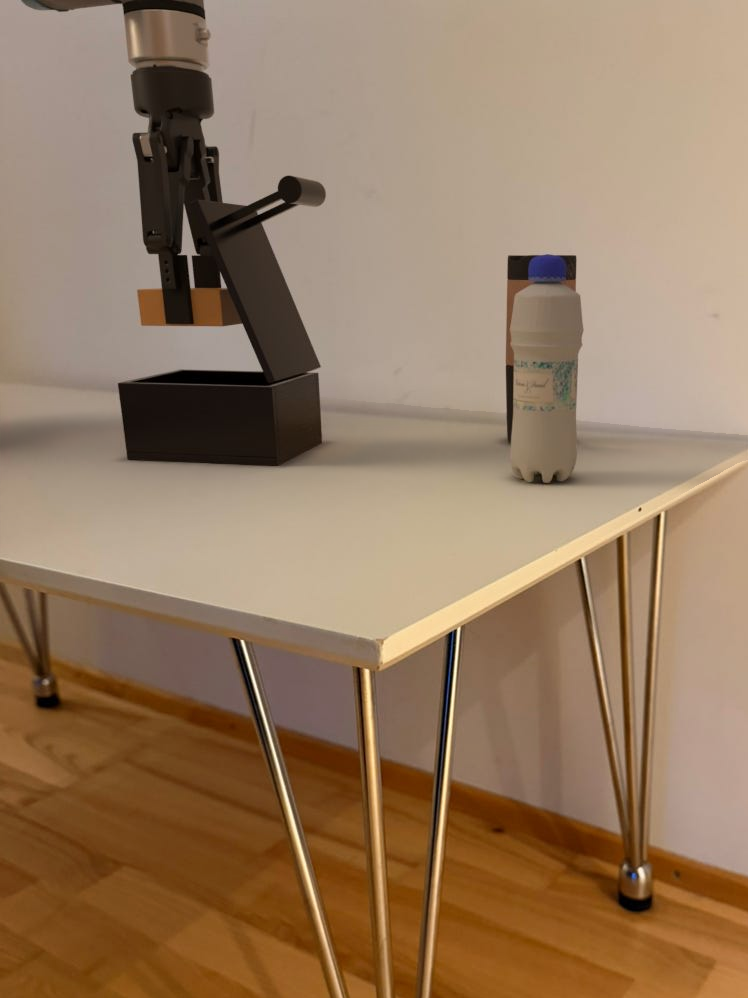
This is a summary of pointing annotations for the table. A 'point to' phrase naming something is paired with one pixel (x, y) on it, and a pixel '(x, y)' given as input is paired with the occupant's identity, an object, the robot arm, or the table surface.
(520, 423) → the bottle
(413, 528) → the table surface
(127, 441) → the open dark storage box
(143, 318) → the orange rectangular block
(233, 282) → the maker lid
